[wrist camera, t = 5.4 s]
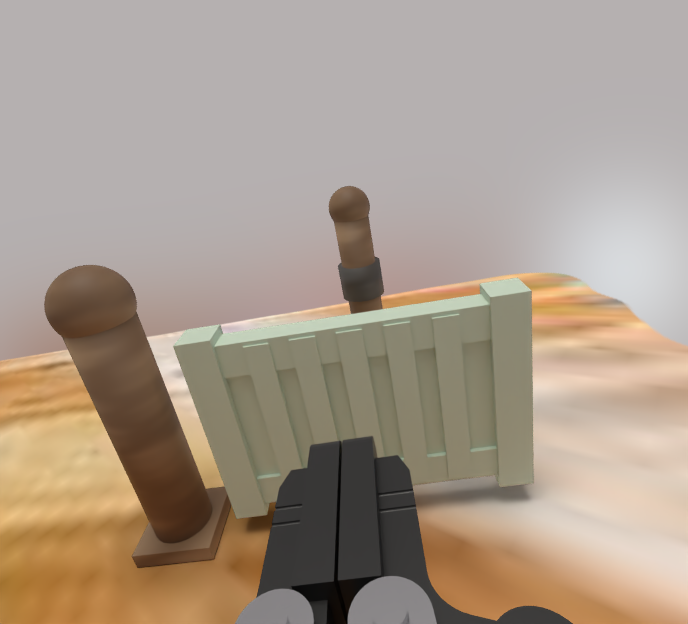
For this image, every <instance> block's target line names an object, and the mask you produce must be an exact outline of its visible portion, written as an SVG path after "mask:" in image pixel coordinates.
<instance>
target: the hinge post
mask: <svg viewBox="0 0 688 624" xmlns="http://www.w3.org/2000/svg"><path fill="white" fill-rule="evenodd" d="M44 305H45V313H46V316H47V319H48V321H49V323H50V324H51V326H52V327H53V329H54V330H55V331H56V332H57V333H58V334H59V335H61V336H62V337H63V340H64V342H65V344H66V346H67V348H68V350H69V352H70V355H71V357H72V359H73V361H74V363H75V365H76V367H77V369H78V372H79V374H80V376H81V378H82V380H83V382H84V384H85V386H86V388H87V391H88V393H89V395H90V397H91V399H92V401H93V403H94V405H95V408H96V410H97V412H98V414H99V416H100V418H101V420H102V422H103V424H104V427H105V429H106V431H107V433H108V435H109V437H110V439H111V441H112V443H113V446H114V448H115V450H116V452H117V454H118V456H119V458H120V460H121V463H122V465H123V467H124V469H125V471H126V473H127V475H128V477H129V479H130V482H131V484H132V486H133V488H134V490H135V492H136V494H137V496H138V499H139V501H140V503H141V505H142V507H143V509H144V511H145V513H146V515H147V518H148V520H149V524H148V526H147V528H146V529H145V531H144V533H143V535H142V537H141V539H140V541H139V543H138V545H137V547H136V549H135V551H134V553H133V555H132V558H133V560H134V562H135V564H136V566H137V568H138V567H147V566H156V565H165V564H174V563H183V562H192V561H201V560H210V559H214V557H215V554H216V551H217V547H218V544H219V541H220V538H221V535H222V532H223V528H224V525H225V522H226V519H227V516H228V513H229V509H230V506H231V502H230V500H229V497H228V494H227V491H226V489H225V487H218V488H210V489H205V486H204V484H203V481H202V479H201V476H200V473H199V471H198V468H197V466H196V463H195V461H194V458H193V455H192V453H191V450H190V448H189V445H188V443H187V440H186V438H185V435H184V432H183V430H182V427H181V425H180V422H179V420H178V417H177V414H176V412H175V409H174V407H173V404H172V402H171V399H170V396H169V394H168V391H167V389H166V386H165V384H164V381H163V379H162V376H161V373H160V371H159V368H158V366H157V363H156V361H155V358H154V355H153V353H152V350H151V348H150V345H149V343H148V340H147V337H146V335H145V332H144V330H143V328H142V325H141V322H140V320H139V317H138V314H137V312H136V309H137V302H136V297H135V293H134V291H133V289H132V287H131V286H130V284H129V283H128V281H127V280H126V279H125V278H123V277H122V276H121V275H120V274H119V273H117V272H115V271H113V270H111V269H109V268H106V267H102V266H97V265H83V266H78V267H75V268H72V269H69V270H67V271H65V272H64V273H62V274H60V275H59V276H58V277H57V278H56V279H55V280H54V281H53V282H52V284H51V285H50V287H49V288H48V291H47V293H46V296H45V304H44Z"/></svg>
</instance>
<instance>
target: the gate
mask: <svg viewBox="0 0 688 624" xmlns="http://www.w3.org/2000/svg"><path fill="white" fill-rule="evenodd" d="M173 347H174V350H175V352H176V355H177V358H178V360H179V363H180V366H181V369H182V371H183V374H184V377H185V380H186V382H187V385H188V388H189V390H190V393H191V396H192V399H193V401H194V404H195V407H196V410H197V412H198V415H199V418H200V420H201V423H202V426H203V429H204V431H205V434H206V437H207V440H208V442H209V445H210V448H211V450H212V453H213V456H214V459H215V461H216V464H217V467H218V470H219V472H220V475H221V478H222V480H223V483H224V486H225V489H226V491H227V494H228V497H229V500H230V502H231V505H232V508H233V510H234V513H235V516H236V519H239V518H247V517H255V516H264V515H267V513H268V509H269V504H270V502H276V501H277V496H278V491H279V487H280V486H281V484H282V483H283V482H284V480H285V479H286V477H287V476H288V474H289V473H290V471H291V470H296V469H303V468H307V464H308V457H309V450H310V446H311V445H313V444H320V443H327V442H334V441H343V440H347V439H354V438H361V437H368V436H373V438H374V442H375V447H376V452H377V457H378V458H380V457H387V456H395V455H398V456H399V457H400V458H401V460H402V461H403V462H404V463H405V465H406V466H407V467H408V468H409V470H410V475H411V481H412V485H418V484H427V483H435V482H443V481H451V480H459V479H468V478H476V477H484V476H492V475H495V477H496V479H497V482H498V484H499V486H500V487H507V486H515V485H523V484H532V483H534V474H533V382H532V291H531V290H530V289H529V288H528V287H527V286H526V285H525V284H524V283H523V282H521V281H520V280H519V279H518V278H513V279H507V280H500V281H494V282H487V283H481V284H480V294H478V295H472V296H465V297H459V298H452V299H446V300H439V301H433V302H426V303H420V304H413V305H407V306H401V307H394V308H388V309H381V310H375V311H368V312H362V313H355V314H349V315H343V316H336V317H330V318H323V319H317V320H310V321H304V322H297V323H291V324H285V325H278V326H272V327H265V328H259V329H252V330H246V331H239V332H233V333H227V334H223V332H222V329H221V326H220V325H214V326H207V327H201V328H195V329H188V330H186V331H185V332H184V333H183V335H182V336H181V337H180V338H179V340H178V341H177V342H176V343H175V345H174V346H173Z"/></svg>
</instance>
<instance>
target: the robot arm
mask: <svg viewBox="0 0 688 624" xmlns="http://www.w3.org/2000/svg"><path fill="white" fill-rule="evenodd" d="M275 508H276V511H274V516H273V521H272V528H271V530H270V535H269V540H268V545H267V550H266V555H265V560H264V565H263V569H262V574H261V579H260V584H259V589H258V593H257V597H256V598H255V599H254V600H253V601H252V602H251V603H249V604H248V605H247V607H246V608H245V609H244V610H243V611H242V613H241V614H240V615H239V617H238V619H237V621H236V623H235V624H573V623H571V622H570V621H569V620H567V619H566V618H564V617H563V616H561V615H560V614H557V613H555V612H553V611H551V610H548V609H545V608H542V607H536V606H522V607H517V608H514V609H511V610H509V611H508V612H506V613H504V614H503V615H502V616H501V617H500V618H499V619H498V620H497V621H495V620H491V619H486V618H482V617H478V616H474V615H470V614H467V613H463V612H461V611H459V610H457V609H455V608H453V607H452V606H450V605H449V604H447V603H446V602H445V601H444V600H443V599H442V598H441V597H440V596H439V595H438V594H437V593H436V591H435V590H434V588H433V587H432V585H431V582H430V580H429V578H428V574H427V569H426V563H425V557H424V551H423V545H422V539H421V534H420V528H419V522H418V516H417V510H416V504H415V498H414V492H413V487H412V481H411V475H410V470H409V468H408V467H407V466H406V465H405V463H404V462H403V461H402V460H401V458H400V457H399V456H398V455H395V456H387V457H380V458H378V457H377V452H376V447H375V442H374V438H373V436H368V437H361V438H354V439H347V440H343V441H334V442H327V443H320V444H313V445H311V446H310V450H309V457H308V464H307V468H303V469H296V470H291V471H290V473H289V474H288V476H287V477H286V479H285V480H284V482H283V483H282V484H281V486H280V487H279V491H278V496H277V501H276V506H275Z"/></svg>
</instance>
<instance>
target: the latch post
mask: <svg viewBox="0 0 688 624" xmlns="http://www.w3.org/2000/svg"><path fill="white" fill-rule="evenodd" d="M369 210H370V205H369V200H368V198H367V196H366V195H365V193H364V192H363V191H362V190H360V189H359V188H356V187H353V186H346V187H342V188H340V189H338V190H337V191H336V192H335V193H334V194H333V195H332V197H331V199H330V202H329V213H330V215H331V217H332V219H333V221H334V224H335V229H336V234H337V240H338V246H339V251H340V257H341V262H342V263H340V264H339V265H338V269H339V274H340V279H341V284H342V290H343V295H344V299H345V300H347V301H349V305H350V311H351V314H355V313H362V312H368V311H375V310H381V309H383V308H382V302H381V295H382V294H383V292H384V288H383V281H382V275H381V268H380V262H379V258H377V257H375V256H374V250H373V243H372V237H371V231H370V224H369V217H368V214H369Z"/></svg>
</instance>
